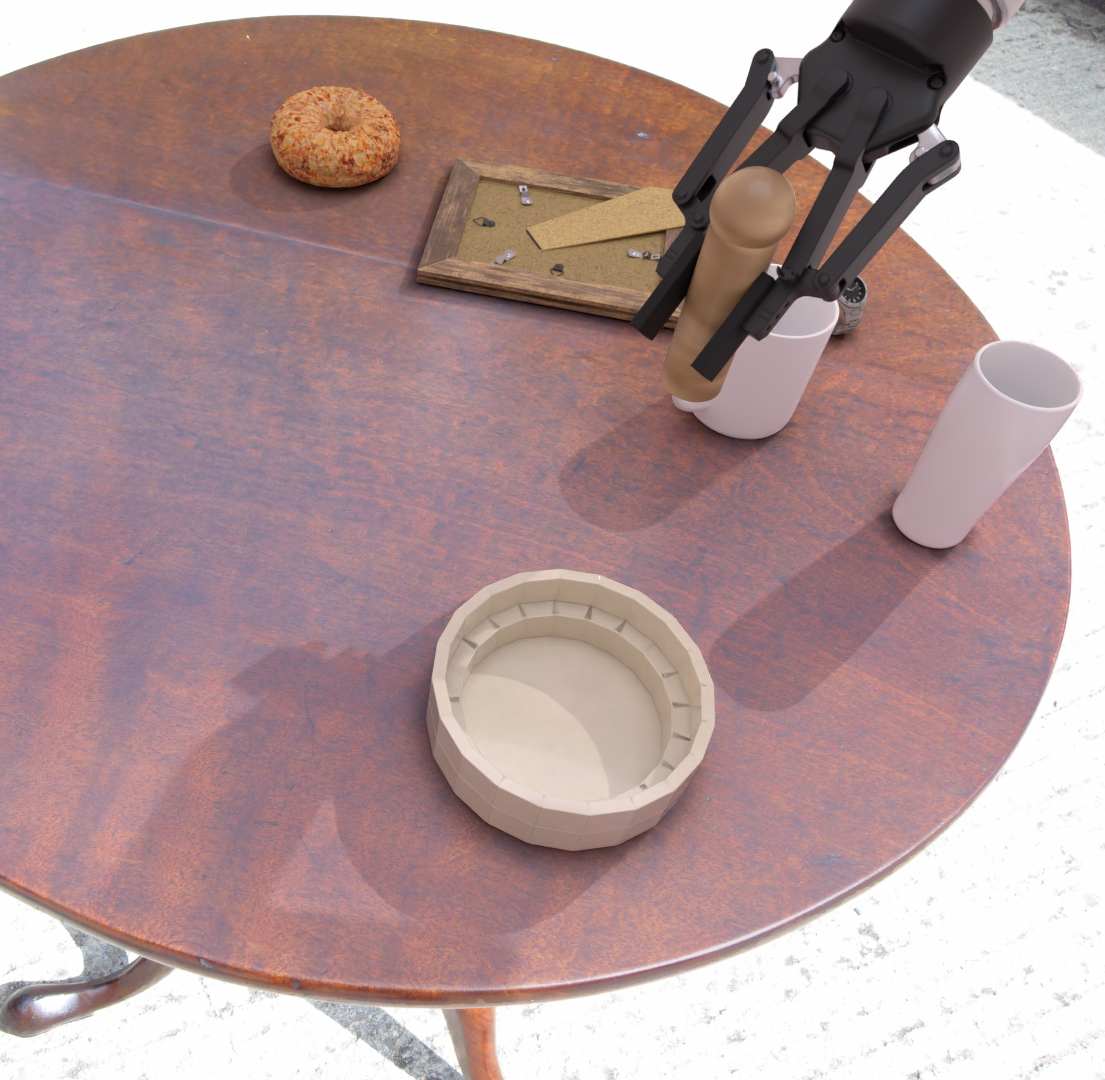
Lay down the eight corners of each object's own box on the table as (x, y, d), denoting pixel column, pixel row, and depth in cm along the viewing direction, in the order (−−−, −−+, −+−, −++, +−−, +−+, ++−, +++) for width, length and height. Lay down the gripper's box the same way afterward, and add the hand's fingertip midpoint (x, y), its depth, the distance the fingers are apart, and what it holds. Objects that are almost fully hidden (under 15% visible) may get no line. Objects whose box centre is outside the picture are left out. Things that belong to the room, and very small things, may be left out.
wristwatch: (830, 345, 92) (852, 298, 88) (787, 301, 95) (807, 254, 91) (863, 336, 92) (887, 290, 89) (820, 293, 96) (841, 246, 92)
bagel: (253, 184, 103) (250, 136, 99) (292, 112, 111) (290, 66, 107) (383, 206, 101) (385, 159, 98) (413, 132, 110) (416, 85, 106)
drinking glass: (885, 478, 82) (977, 326, 70) (976, 507, 81) (1086, 356, 69) (873, 541, 78) (969, 391, 66) (969, 572, 77) (1085, 424, 65)
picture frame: (696, 210, 103) (455, 170, 106) (701, 194, 102) (457, 153, 104) (685, 333, 92) (416, 284, 94) (691, 316, 90) (417, 267, 93)
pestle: (734, 372, 71) (817, 165, 59) (714, 415, 68) (797, 207, 56) (667, 348, 72) (735, 141, 60) (646, 390, 69) (712, 182, 57)
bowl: (721, 681, 70) (747, 635, 66) (640, 903, 61) (664, 866, 56) (490, 582, 74) (500, 532, 70) (380, 775, 65) (384, 732, 61)
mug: (627, 396, 87) (659, 290, 78) (746, 357, 90) (788, 252, 82) (689, 469, 82) (730, 364, 73) (812, 425, 85) (864, 320, 77)
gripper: (1082, 96, 58) (798, 443, 64) (819, -22, 66) (587, 298, 72) (1090, 26, 52) (773, 420, 58) (798, -95, 59) (545, 264, 65)
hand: (671, 352), depth 65 cm, fingers closed on pestle, 4 cm apart
